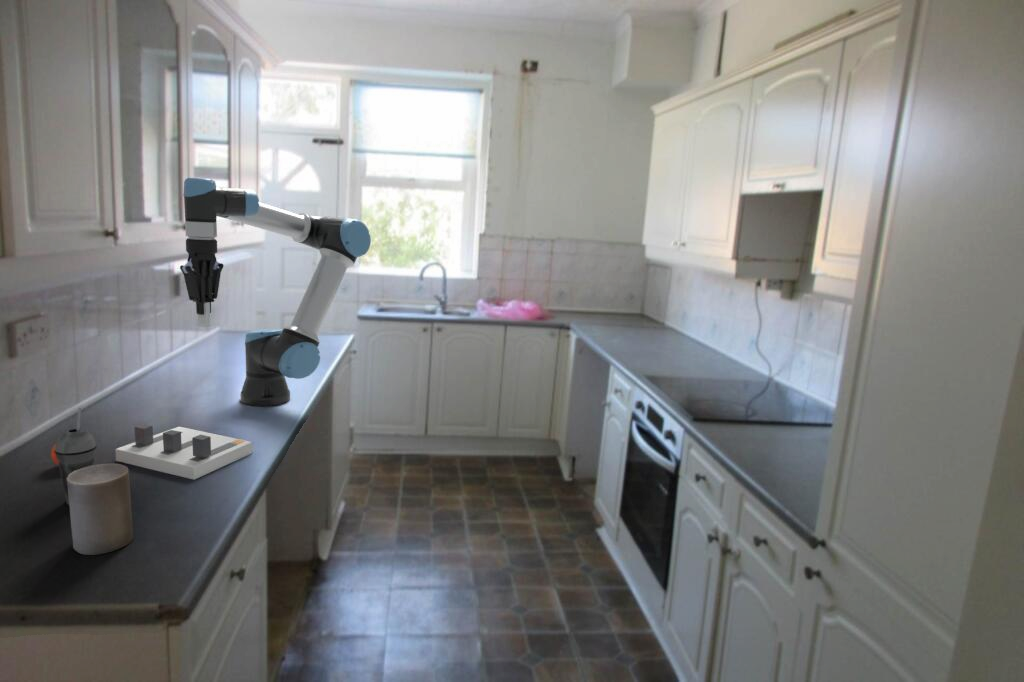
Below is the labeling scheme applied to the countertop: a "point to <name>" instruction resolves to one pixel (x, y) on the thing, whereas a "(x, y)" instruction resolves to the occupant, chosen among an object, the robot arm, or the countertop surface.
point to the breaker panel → (180, 451)
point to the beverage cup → (74, 452)
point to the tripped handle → (201, 446)
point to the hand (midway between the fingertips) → (204, 325)
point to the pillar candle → (100, 508)
